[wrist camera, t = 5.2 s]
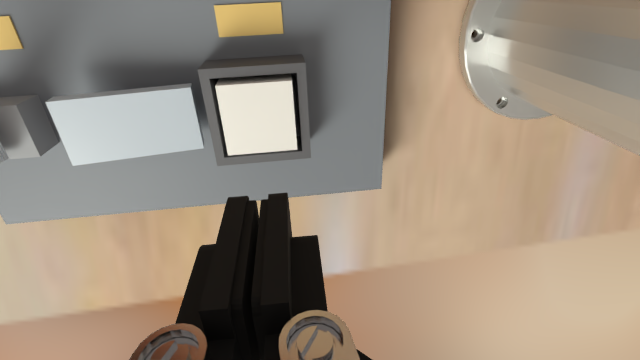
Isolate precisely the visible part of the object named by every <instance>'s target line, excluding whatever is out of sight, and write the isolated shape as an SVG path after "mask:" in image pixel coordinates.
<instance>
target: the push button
mask: <svg viewBox="0 0 640 360" xmlns="http://www.w3.org/2000/svg"><path fill="white" fill-rule="evenodd" d="M215 88H216V94H217V99H218V104H219V110H220V115H221V121H222V126H223V131H224V137H225V142H226V148H227V153H228V155H240V154H252V153H264V152H276V151H288V150H297V138H296V125H295V113H294V100H293V87H292V78H291V73H287V74H273V75H258V76H243V77H228V78H219V80H218V82H217V83H216V85H215Z"/></svg>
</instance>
